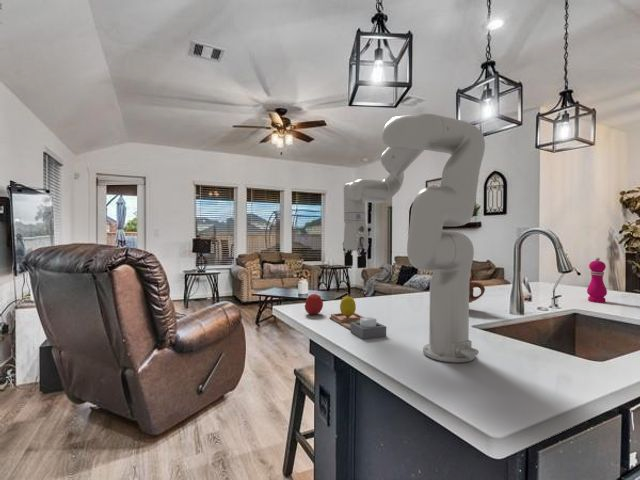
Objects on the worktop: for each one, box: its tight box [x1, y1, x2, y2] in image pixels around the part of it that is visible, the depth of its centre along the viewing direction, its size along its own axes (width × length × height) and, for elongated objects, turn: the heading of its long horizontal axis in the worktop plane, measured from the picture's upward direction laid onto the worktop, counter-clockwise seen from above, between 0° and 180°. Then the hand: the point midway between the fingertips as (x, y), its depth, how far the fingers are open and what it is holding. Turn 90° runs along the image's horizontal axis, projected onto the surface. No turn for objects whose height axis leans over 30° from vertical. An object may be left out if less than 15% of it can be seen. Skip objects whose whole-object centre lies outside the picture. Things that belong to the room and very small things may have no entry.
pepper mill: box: [586, 256, 608, 304], centre depth 165 cm, size 7×7×20 cm
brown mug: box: [469, 276, 486, 304], centre depth 148 cm, size 20×12×14 cm, turn 53°
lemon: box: [339, 295, 356, 318], centre depth 130 cm, size 6×6×8 cm
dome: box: [360, 316, 377, 328], centre depth 112 cm, size 5×5×4 cm
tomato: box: [303, 293, 324, 316], centre depth 140 cm, size 8×8×8 cm
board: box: [329, 312, 365, 331], centre depth 126 cm, size 19×10×2 cm, turn 22°
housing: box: [350, 321, 387, 340], centre depth 112 cm, size 8×8×3 cm
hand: (355, 266), depth 129 cm, fingers open, 9 cm apart
